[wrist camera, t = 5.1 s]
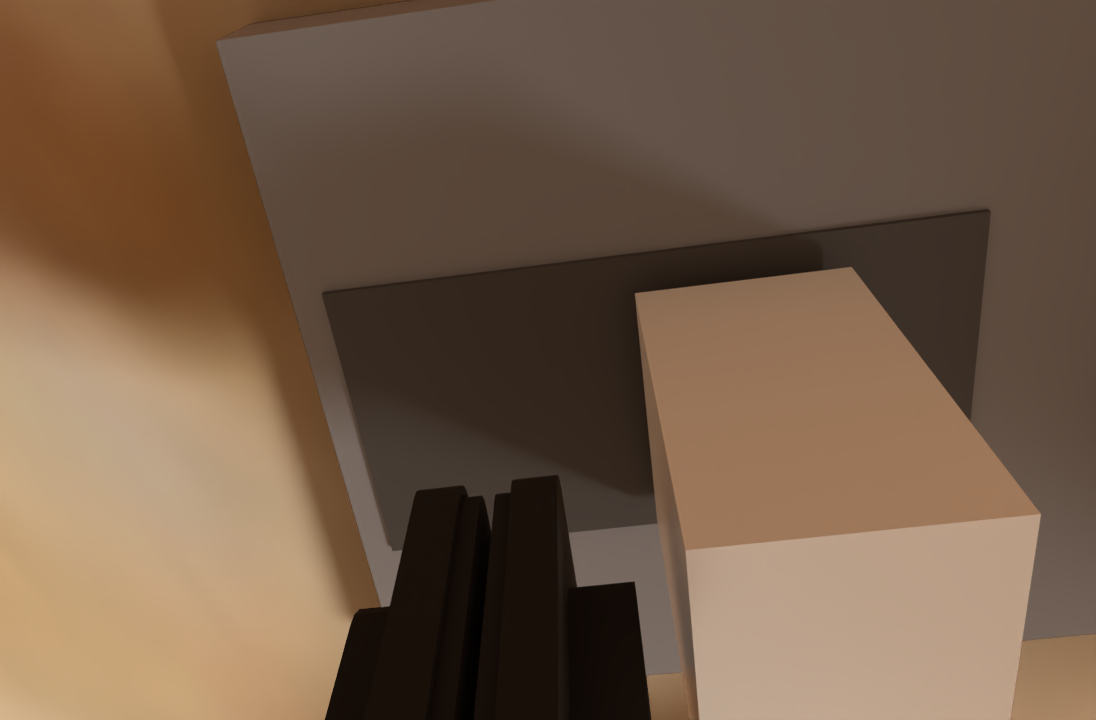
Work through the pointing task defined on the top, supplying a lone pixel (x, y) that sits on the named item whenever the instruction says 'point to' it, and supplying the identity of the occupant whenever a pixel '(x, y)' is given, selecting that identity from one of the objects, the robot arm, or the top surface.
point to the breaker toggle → (826, 511)
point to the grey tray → (672, 235)
